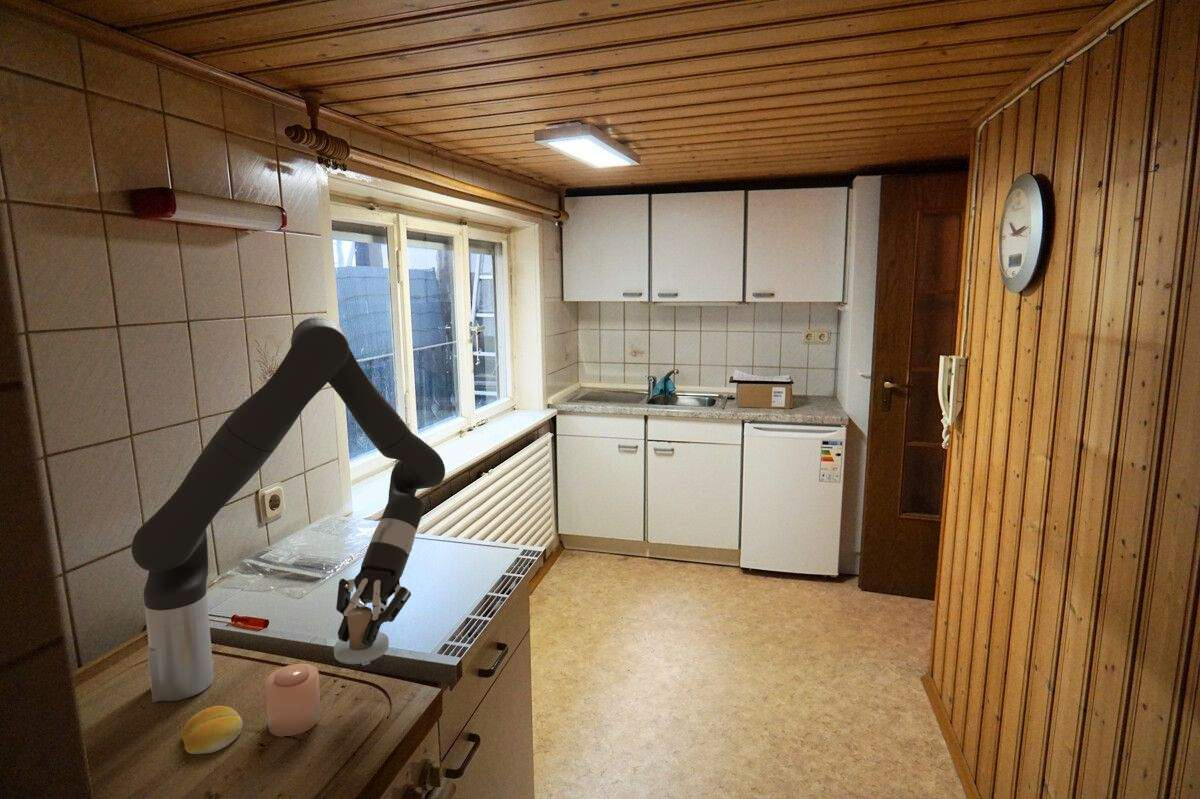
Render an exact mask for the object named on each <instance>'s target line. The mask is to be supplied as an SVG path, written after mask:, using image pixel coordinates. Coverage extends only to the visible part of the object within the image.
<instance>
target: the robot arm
mask: <svg viewBox="0 0 1200 799" xmlns="http://www.w3.org/2000/svg"><path fill="white" fill-rule="evenodd" d="M326 384H329V385H330V386H331V388H332V389H333V390H334V391H335V393H336V394H337V395H338V396H339V397H340V399H341V401H343V403H344V404H345V406H346V408H347V410H348V411H349V412H350V414H351V415H352V417H353V419H354V420H355V422H356V423H357V424H358V426H359V427H360V429H361V430H362V431H363V432H364V434H365V436H366V437H367V438H368V440H369V441H370V442H371V443H372V444H373V445H374V447H375V448H376V449H377V450H378V452H379V453H380V454H381V455H382V456H383V457H384V458H387V459H391V460H396V462H395V464H394V466H393V468H392V470H391V474H390V482H389V488H388V497H387V498H388V501H387V504H386V505H385V509H384V510H383V513H382V516H381V518H380V521H379V523H378V525H377V526H376V528H375V530H374V532H373V534H372V537H371V539H370V542H369V544H368V547H367V549H366V552H365V555H364V557H363V559H362V562H361V565H360V570H359V572H358V573H357V575H355V577H354V578H353V579H345V578H340V580H339V581H338V589H337V597H336V598H337V599H336V608H335V609H336V611H337V612H339V613H340V614H341V615H342V616H343V619H342V621H341V622H340V626H339V628H338V631H337V637H338V638H337V639H338V641H339V640H341V641H344V642H347V641H348V639H349V633H348V615H347V614H348V612H349V611H350V610H352V609H354V608H357V607H367V605H368V604H371V607H372V621H369V623H368V626H367V628H366V631H365V634H364V636H363V639H362V643H363V644H365V645H368V646H370V645H371V644H372V642H374V641H375V640H376V637H377V634H378V632H380V628H381V626H382V625H383V624H384V623H388V622H389V623H393V621H395V619H396V617H397V616H398V615H399V613H400V611H401V610H402V609H403V607H404V606H405V604H406V603H407V602H408V600H409V599H410V597H411V596H412V592H411V591H410V590H409V589H408V588H407V587H405V586H401V584H400V583H401V582H400V580H401V578H402V577H403V574H404V571H405V568H406V565H407V563H408V560H409V557H410V554H411V552H412V550H413V547H414V543H415V538H416V534H417V530H418V528H419V525H420V523H421V520H422V518H423V517H422V516H423V513H424V509H425V505H424V502H423V501H422V499H420V498H418V497H417V496H416V493H417V491H418V490H423V489H432V488H434V487H437V486H439V485H440V484H441V483H443V481H444V479H445V475H446V467H445V464H444V461H443V458H442V457H441V456H440V454H439V453H438V452H437V451H436V450H435V449H434V448H432V447H431V446H430V445H429V444H427V442H425V441H424V440H423V439H422V438H420V437H419V436H417V435H416V434H414V433H413V432H412V431H411V429H410V428H409V427H408V425H407V424H406V423H405V421H404V420H403V418H401V416H400V415H399V414H398V412H397V411H396V410H395V408H394V407H393V406H392V405H391V404H390V402H389V401H388V399H386V398H385V397H384V395H383V394H382V393H381V392H380V390H379V389H378V388H377V387H376V386H375V384H374V383H373V382H372V381H371V380H370V378H369V377H368V376H367V374H366V373H365V371H364V370H363V369H362V366H361V365H360V364H359V362H358V361H357V359H356V357H355V356H354V353H353V351H352V350H351V348H350V344H349V340H348V338H347V336H346V334H345V332H344V331H343V329H342V328H341V327H340V326H339V325H338V324H337V323H335V321H333V320H330V319H328V318H324V317H318V316H316V317H313V316H312V317H310V318H306V319H304V320H302V321H300V322H299V323H298V324H297V325H296V327H295V328H294V330H293V332H292V335H291V338H290V348H289V349H288V352H287V353H286V355H285V357H284V358H283V359H282V361H281V363H280V364H279V365H278V367H277V368H276V369H275V371H274V373H273V374H272V375H271V377H270V378H269V379H268V380H267V382H266V383H265V384H264V385H263V386H262V387H261V388H260V389H259V390H257V391H256V392H254V393H253V394H252V395H250V396H249V397H248V398H247V399H246V400H244V401H243V402H242V403H241V404H240V405H239V406H237V408H236V409H235V410H233V411H232V413H231V414H230V415H229V416H228V417H227V419H225V421H224V422H223V424H222V425H221V426H220V427H219V428H218V429H217V431H216V433H215V434H214V435H213V436H212V438H211V439H210V440H209V441H208V443H207V445H206V446H205V448H204V449H203V450H202V451H201V453H200V454H199V455H198V457H197V458H196V460H195V462H194V463H193V465H192V466H191V468H190V469H189V471H188V472H187V474H186V476H185V477H184V479H183V480H182V482H181V484H180V485H179V486H178V488H177V489H176V490H175V492H174V493H173V494H172V496H170V497H169V499H168V500H166V502H165V503H164V504H163V505H162V506H161V507H160V508H159V509H158V510H157V511H156V512H155V513H154V514H153V515H152V516H151V517H150V518H149V519H147V520H146V521H145V522H144V523H143V524H142V525H141V526H139V528H137V531H135V534H134V536H133V539H132V543H131V555H132V558H133V560H134V562H135V563H136V564H137V566H138V567H140V568H141V569H143V570H145V571H148V575H147V579H146V582H145V585H144V589H143V601H144V612H145V622H146V632H147V642H148V647H147V661H148V669H149V671H148V672H149V680H150V691H151V698H152V699H151V700H152V703H157V702H176V701H180V700H181V701H182V700H186V699H188V698H191V697H194V696H196V695H199V694H200V693H202V692H204V691H205V690H206V689H208V688H210V686H211V685H212V684H213V682H214V678H215V677H214V676H215V675H214V665H213V652H212V651H213V650H212V640H211V639H212V638H211V631H210V630H211V629H210V628H211V626H210V616H209V604H208V593H207V592H208V591H207V581H208V575H209V551H208V549H209V548H208V546H209V545H208V534H207V528H208V527H209V526H210V524H211V522H213V520H214V518H215V517H216V516H217V514H218V513H219V512H220V511H221V509H222V508H224V506H225V505H226V504H227V503H228V502H229V501H230V500H232V499H233V497H234V496H235V495H236V494H237V493H238V492H240V490H242V488H244V487H245V485H246V484H247V483H248V482H249V481H250V480H251V479H252V478H253V477H254V475H256V474H257V473H258V471H259V470H260V469H261V468H262V467H263V466H264V464H265V463H266V462H267V460H268V459H269V458H270V457H271V455H272V454H273V453H274V452H275V450H276V449H277V448H278V446H279V445H280V443H281V442H282V441H283V439H284V438H285V436H286V435H287V434H288V432H290V430H291V428H292V427H293V425H294V424H295V423H296V421H297V419H298V418H299V416H300V415H301V413H302V412H303V410H304V409H305V408H306V406H307V405H308V404H309V403H310V401H312V400H313V398H314V397H315V396H316V395H317V394H318V393H319V392H320V391H321V390H322V389H323V388H324V387H325V386H326ZM354 588H355V591H354ZM353 592H354V593H353ZM352 593H353V594H352ZM351 594H352V596H351ZM392 595H393V596H394V597H393V598H392V599H391V601H390V602H388V601H389V598H390V597H391V596H392ZM388 603H389V604H388Z"/></svg>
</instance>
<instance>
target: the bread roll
mask: <svg viewBox="0 0 1200 799" xmlns="http://www.w3.org/2000/svg"><path fill="white" fill-rule="evenodd" d="M242 729H243V719H242V717H241V716H240V714H239V713H238V712H237V711H236V710H235V709H233V708H232V707H230V706H225V705H214V706H209V707H206V708H204V709H203V710H200V711H199V712H197V713H196V714H195V715H194V714H193V716H192V717H190V718H189V720H187V722H186V723H185V724H184V726H183V727H182V731H181V738H182V741H183V743H184V749H185V751H186V753H189V754H191V755H203V754H212V753H215V752H218V751H220V750H222V749H224V748H226V747H227V746H229V745H230V744H232V742H234V741H235V740H236V739H237V738H238V737H239V736H240V734H241V732H242Z"/></svg>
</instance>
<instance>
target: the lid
mask: <svg viewBox="0 0 1200 799" xmlns="http://www.w3.org/2000/svg"><path fill="white" fill-rule="evenodd" d="M372 611H373V608H371V607H369V606H365V607H357V608H354V609H352V610H350V611H349V612H348V614H347V615H348V633H349V639H348V641H347V642H344V641H341V640H339V639H338V640H337V642H336V643H335V644H334V646H333V656H334V658H335V660H336V661H337V662H340V663H342V664H347V665H360V664H361V665H362V666H363V667H364V666H367V665H370V664H371V662H373V661H374V660H376V659H378V658H380V657H382V656H383V655H384V654H385V653H386V652H387V651H388V649H389V648H390V646H389V642H390V641H389V637H388V635H387V634H386V633H384V632H381V631H379V632H378V634H377V637H376V640H375V641H374V642H372V644H371V645H370V646H368V645H365V644H363V643H362V639H363V636H364V634H365V631H366V628H367V626H368V623H369V621H372Z"/></svg>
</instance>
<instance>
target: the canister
mask: <svg viewBox="0 0 1200 799" xmlns="http://www.w3.org/2000/svg"><path fill="white" fill-rule="evenodd" d="M264 686H265V698H266V699H265V702H266V712H267V715H266V716H267V728H268V731H269V733H270V734H271V735H273V736H274V737H275V736H276V737H280V738H285V737H284V736H290V737H292V736H291V735H295V734H298V735H300V734H299V733H301V734H303V733H302V732H304V731H306V730H308V729H309V730H311V729H312V728H313V727H315V726H316V725H317V724H318V722H319V721H320V719H321V698H320V697H321V695H320V679H319V669H318V668H317V667H316V666H315V665H313V664H310V663H294V664H290V665H286V666H283V667H280V668H278V669H276V670H275V671H273V672H271V673H270V674H269V675H268V676H267V678H266V679H265V682H264ZM314 725H315V726H314ZM310 728H311V729H310ZM309 730H308V731H309ZM306 732H307V731H306ZM304 733H305V732H304ZM295 736H296V735H295Z"/></svg>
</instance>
